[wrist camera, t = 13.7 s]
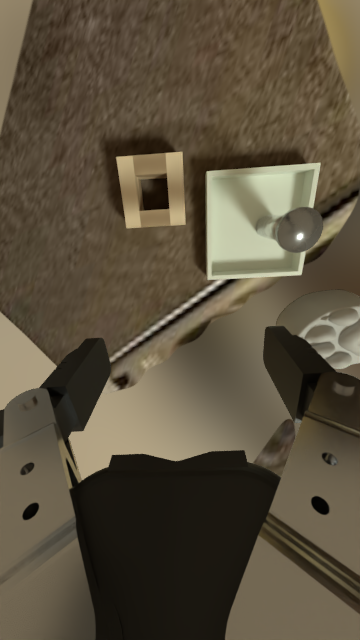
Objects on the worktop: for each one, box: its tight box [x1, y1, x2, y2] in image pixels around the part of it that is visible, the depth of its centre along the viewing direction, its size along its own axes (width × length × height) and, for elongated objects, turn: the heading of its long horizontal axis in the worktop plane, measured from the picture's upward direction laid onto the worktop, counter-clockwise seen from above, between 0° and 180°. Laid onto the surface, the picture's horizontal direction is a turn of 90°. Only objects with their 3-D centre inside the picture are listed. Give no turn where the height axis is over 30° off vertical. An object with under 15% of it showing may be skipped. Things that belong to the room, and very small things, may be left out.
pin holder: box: [116, 152, 186, 228], centre depth 30 cm, size 8×8×4 cm
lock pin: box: [256, 207, 323, 253], centre depth 28 cm, size 4×4×11 cm
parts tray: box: [205, 163, 321, 280], centre depth 32 cm, size 14×14×3 cm
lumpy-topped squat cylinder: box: [276, 289, 360, 369], centre depth 36 cm, size 10×13×9 cm
